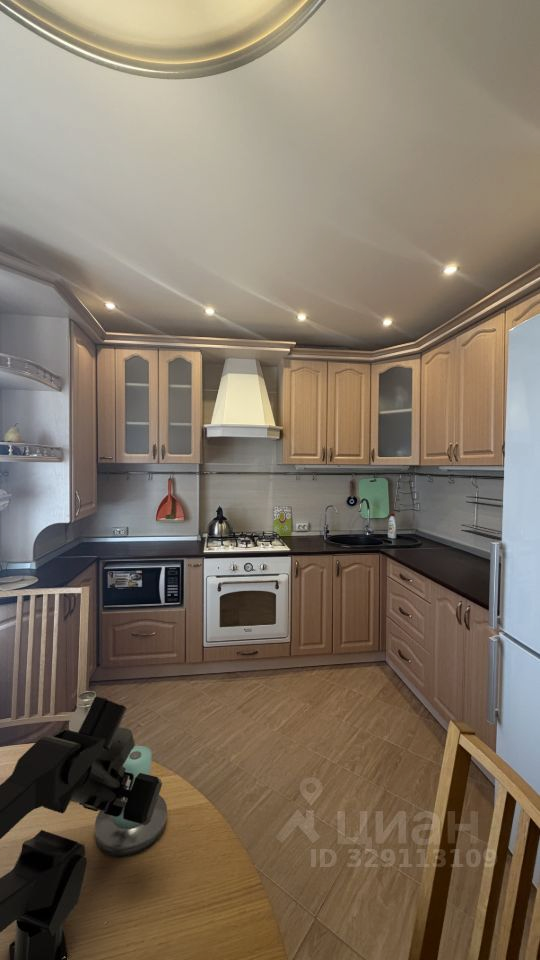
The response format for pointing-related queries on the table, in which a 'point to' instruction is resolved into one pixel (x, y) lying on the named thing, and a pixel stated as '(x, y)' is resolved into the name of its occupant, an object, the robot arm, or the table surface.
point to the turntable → (130, 830)
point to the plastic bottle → (81, 710)
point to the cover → (135, 764)
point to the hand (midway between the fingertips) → (123, 798)
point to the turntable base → (129, 852)
